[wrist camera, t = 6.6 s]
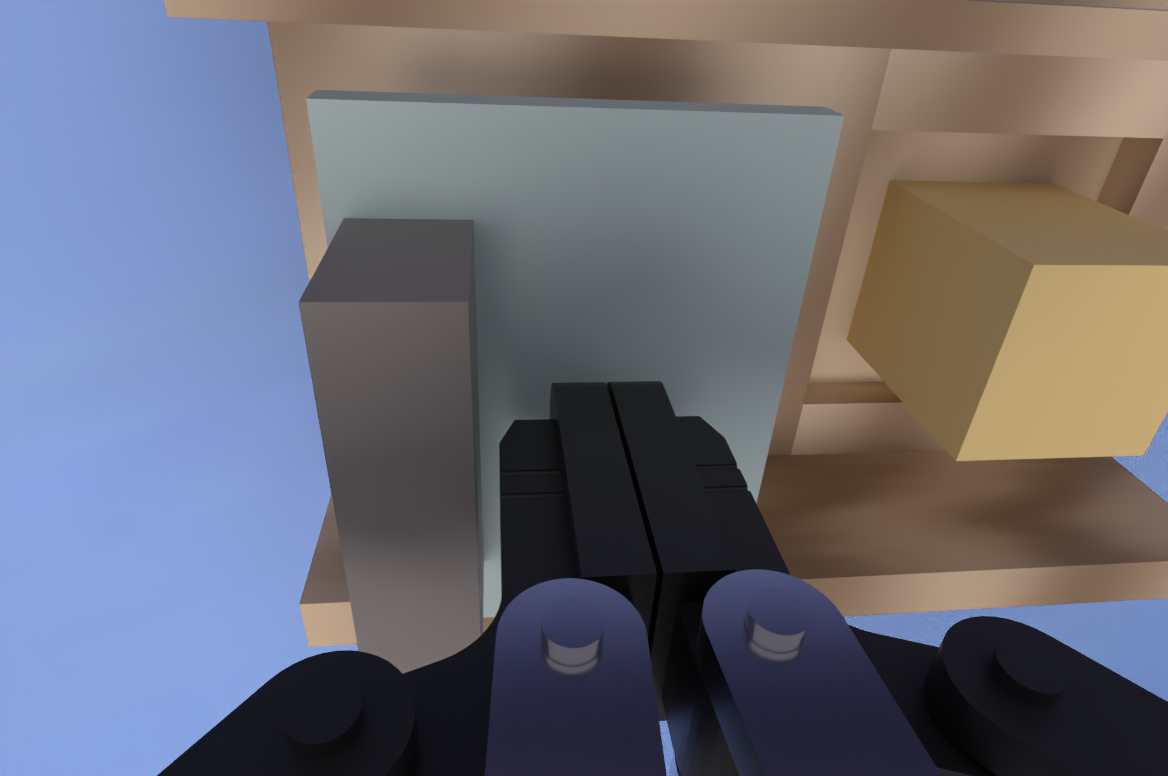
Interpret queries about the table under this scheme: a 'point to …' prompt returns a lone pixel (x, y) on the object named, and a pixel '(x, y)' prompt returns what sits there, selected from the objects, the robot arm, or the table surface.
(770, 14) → the wooden rack
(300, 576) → the table surface
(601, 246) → the lid
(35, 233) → the table surface
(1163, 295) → the block
